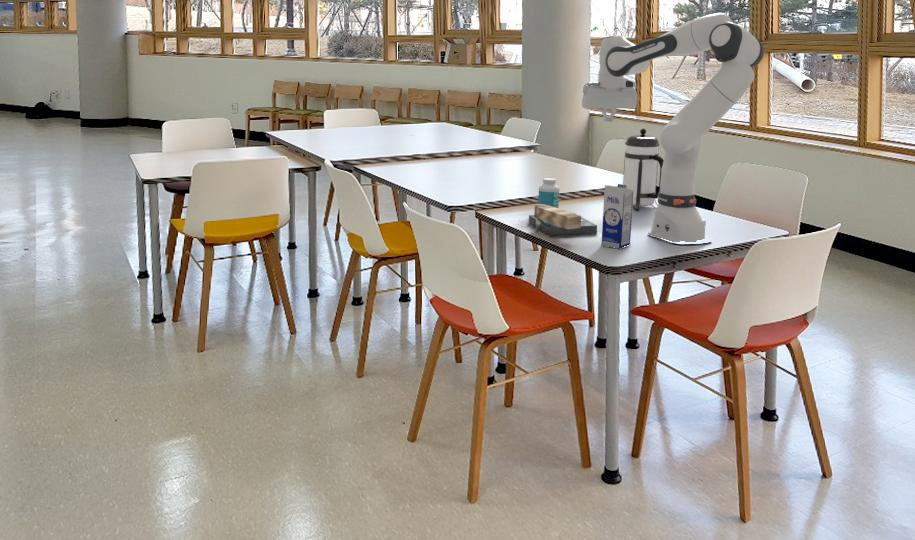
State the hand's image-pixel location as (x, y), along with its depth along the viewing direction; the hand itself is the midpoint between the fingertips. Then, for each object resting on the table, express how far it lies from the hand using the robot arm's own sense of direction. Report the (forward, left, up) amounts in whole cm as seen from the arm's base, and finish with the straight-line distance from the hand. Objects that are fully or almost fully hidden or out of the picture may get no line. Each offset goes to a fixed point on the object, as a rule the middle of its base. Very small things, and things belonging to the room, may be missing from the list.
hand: (608, 121), depth 343 cm
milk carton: (-45, +16, -34) cm, 59 cm away
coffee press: (+7, -19, -34) cm, 40 cm away
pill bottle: (+2, +21, -34) cm, 40 cm away
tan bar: (-27, +30, -30) cm, 50 cm away
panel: (-19, +24, -34) cm, 46 cm away
